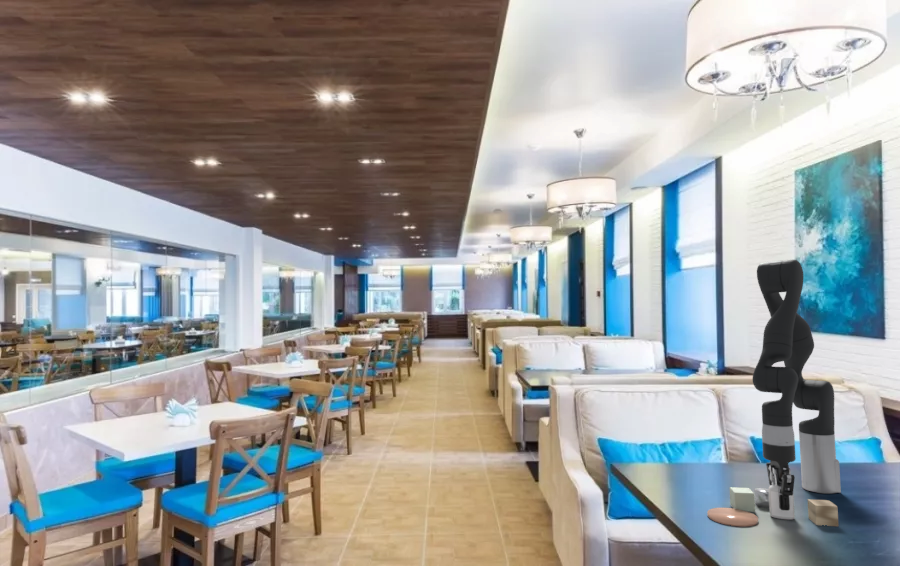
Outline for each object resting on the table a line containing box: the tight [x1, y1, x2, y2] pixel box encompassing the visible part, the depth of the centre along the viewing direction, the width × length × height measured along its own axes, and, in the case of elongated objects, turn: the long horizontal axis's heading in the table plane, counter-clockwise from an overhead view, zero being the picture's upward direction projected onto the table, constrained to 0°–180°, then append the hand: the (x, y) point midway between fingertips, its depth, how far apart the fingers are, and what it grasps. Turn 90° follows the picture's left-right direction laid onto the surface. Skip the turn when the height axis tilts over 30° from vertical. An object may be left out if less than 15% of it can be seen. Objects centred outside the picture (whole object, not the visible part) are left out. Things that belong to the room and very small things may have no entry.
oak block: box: [807, 498, 839, 527], centre depth 144 cm, size 5×5×5 cm
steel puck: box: [753, 487, 770, 509], centre depth 158 cm, size 5×5×4 cm
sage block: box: [729, 486, 756, 513], centre depth 156 cm, size 5×5×5 cm
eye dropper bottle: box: [768, 481, 796, 521], centre depth 148 cm, size 4×6×12 cm
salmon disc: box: [706, 507, 759, 528], centre depth 148 cm, size 12×12×1 cm
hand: (781, 506), depth 148 cm, fingers closed on eye dropper bottle, 3 cm apart
